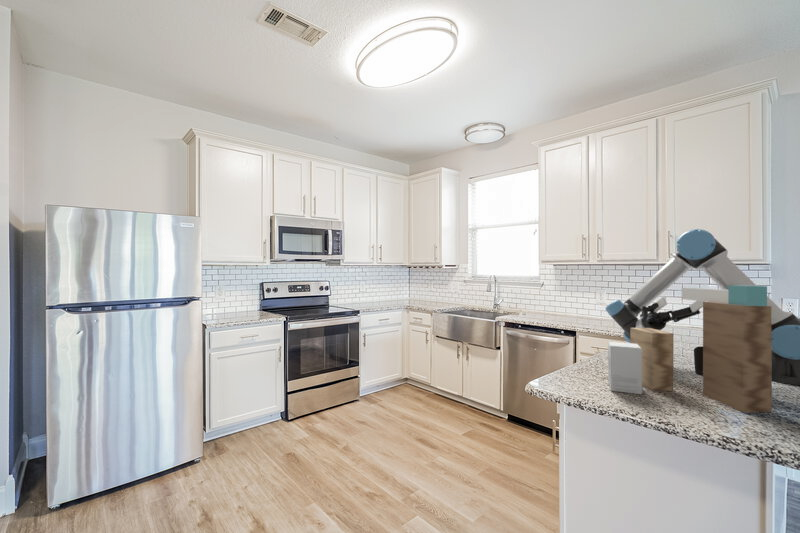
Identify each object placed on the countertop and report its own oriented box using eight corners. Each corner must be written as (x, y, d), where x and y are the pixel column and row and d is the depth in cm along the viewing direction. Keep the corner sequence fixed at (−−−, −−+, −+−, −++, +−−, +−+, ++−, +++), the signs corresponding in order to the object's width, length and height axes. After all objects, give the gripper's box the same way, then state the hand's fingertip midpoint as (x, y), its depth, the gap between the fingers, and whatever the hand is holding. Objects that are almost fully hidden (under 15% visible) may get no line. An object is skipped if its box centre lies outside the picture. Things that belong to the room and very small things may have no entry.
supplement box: (638, 387, 125) (638, 343, 125) (642, 395, 117) (642, 348, 117) (607, 383, 129) (607, 340, 129) (610, 390, 121) (610, 345, 121)
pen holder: (687, 371, 146) (687, 346, 147) (710, 371, 147) (710, 346, 147) (708, 378, 137) (708, 351, 137) (732, 378, 137) (732, 351, 138)
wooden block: (649, 380, 134) (649, 327, 134) (673, 390, 122) (673, 333, 122) (630, 379, 134) (630, 327, 134) (652, 390, 122) (652, 333, 122)
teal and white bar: (679, 298, 130) (679, 283, 130) (695, 299, 130) (695, 283, 130) (746, 305, 104) (746, 286, 104) (767, 306, 104) (767, 286, 104)
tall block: (728, 395, 117) (728, 302, 118) (771, 412, 103) (771, 306, 104) (703, 395, 118) (703, 301, 118) (742, 411, 104) (742, 305, 104)
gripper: (685, 333, 146) (724, 311, 128) (622, 332, 147) (652, 310, 129) (679, 315, 150) (715, 291, 132) (617, 314, 151) (645, 291, 133)
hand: (684, 300), depth 131 cm, fingers open, 13 cm apart
